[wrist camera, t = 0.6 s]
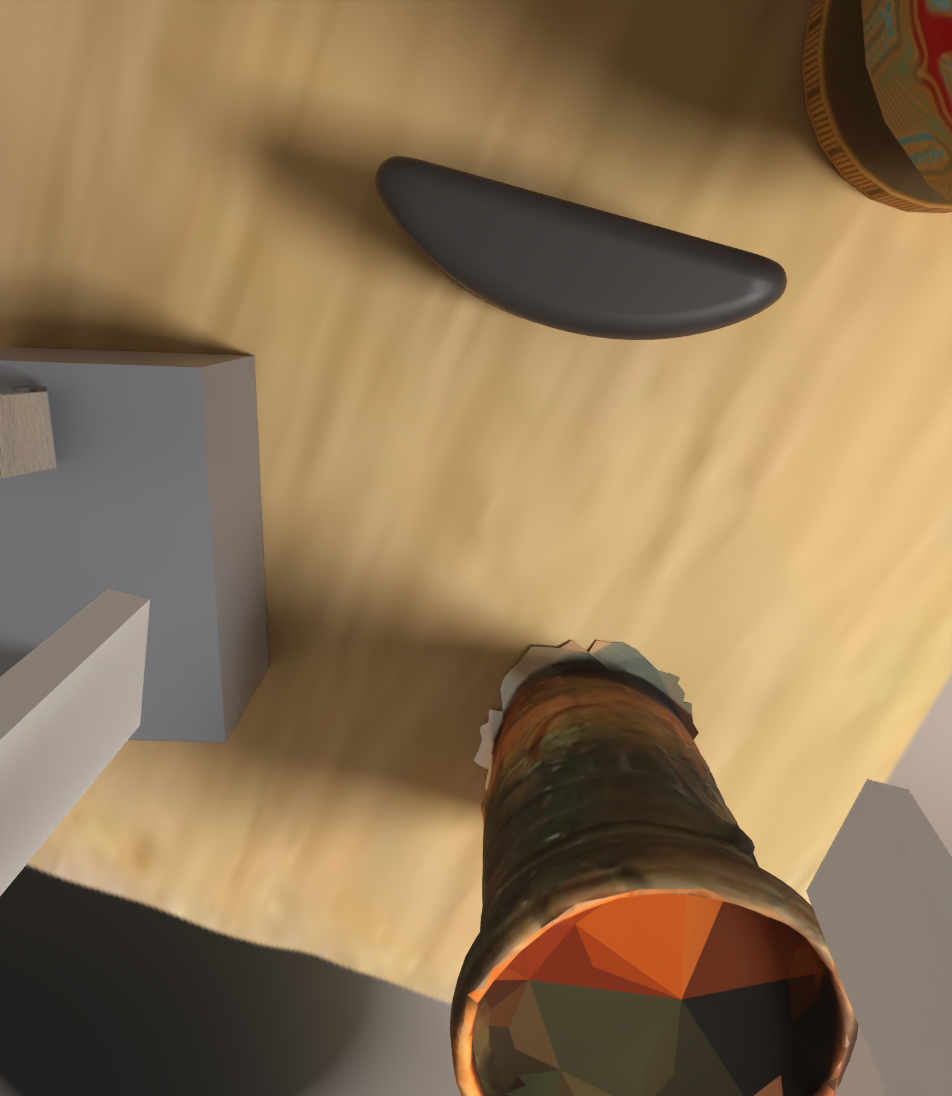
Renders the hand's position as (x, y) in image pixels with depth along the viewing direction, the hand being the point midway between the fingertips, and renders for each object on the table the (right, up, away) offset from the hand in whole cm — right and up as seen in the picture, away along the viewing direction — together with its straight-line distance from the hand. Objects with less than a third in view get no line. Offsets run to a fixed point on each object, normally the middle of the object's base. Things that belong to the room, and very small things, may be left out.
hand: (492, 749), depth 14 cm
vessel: (+6, -8, +32) cm, 33 cm away
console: (-18, +5, +27) cm, 33 cm away
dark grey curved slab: (+4, +18, +24) cm, 30 cm away
